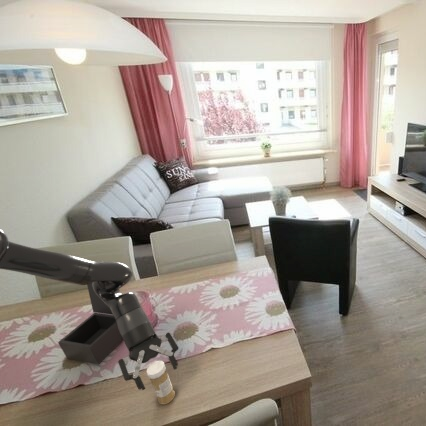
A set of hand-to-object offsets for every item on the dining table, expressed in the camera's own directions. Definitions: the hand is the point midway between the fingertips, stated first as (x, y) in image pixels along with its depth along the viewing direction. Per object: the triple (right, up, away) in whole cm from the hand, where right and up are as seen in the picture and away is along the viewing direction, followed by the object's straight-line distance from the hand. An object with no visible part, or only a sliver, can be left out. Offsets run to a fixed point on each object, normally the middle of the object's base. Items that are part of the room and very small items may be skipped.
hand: (160, 378), depth 83 cm
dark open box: (-35, -1, +24) cm, 42 cm away
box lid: (-34, +16, +24) cm, 45 cm away
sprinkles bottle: (-1, -9, +5) cm, 10 cm away
